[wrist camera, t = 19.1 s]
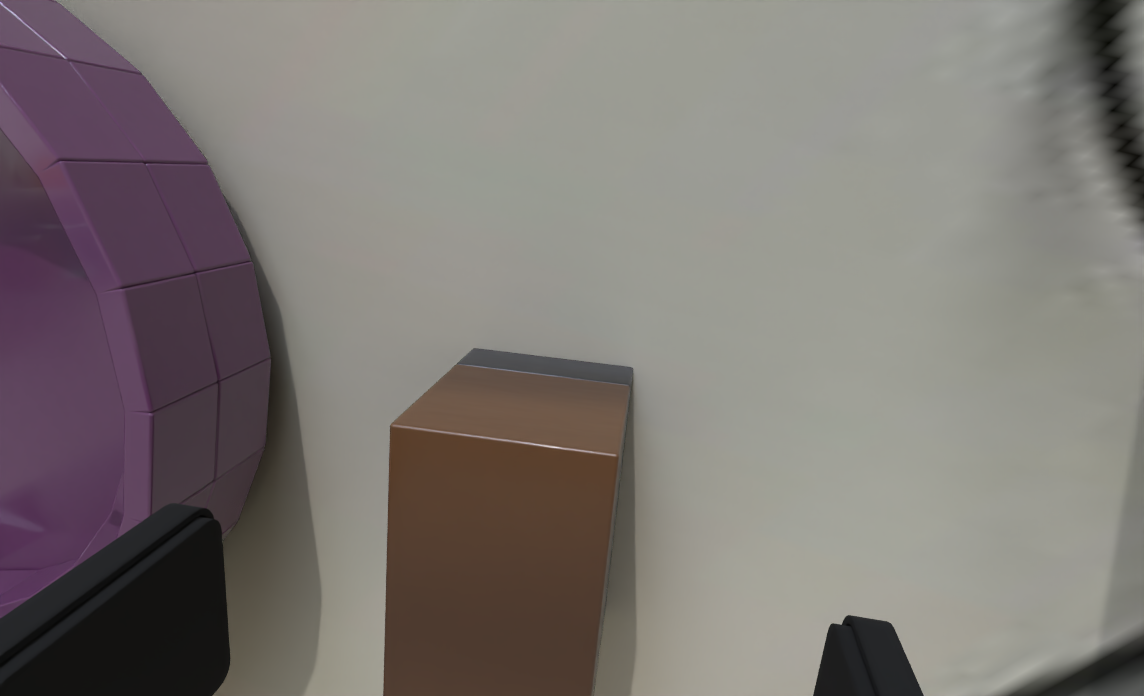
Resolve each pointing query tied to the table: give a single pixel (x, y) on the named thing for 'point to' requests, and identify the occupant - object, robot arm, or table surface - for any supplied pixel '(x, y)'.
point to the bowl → (112, 309)
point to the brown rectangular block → (503, 527)
